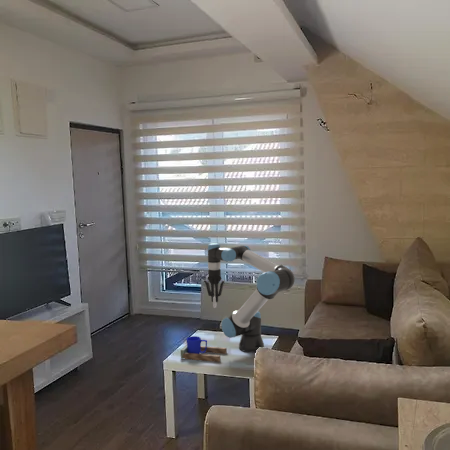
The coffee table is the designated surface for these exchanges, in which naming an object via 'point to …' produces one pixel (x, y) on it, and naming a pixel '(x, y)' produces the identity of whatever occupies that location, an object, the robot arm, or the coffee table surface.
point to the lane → (204, 356)
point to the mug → (195, 344)
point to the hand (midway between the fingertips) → (215, 307)
